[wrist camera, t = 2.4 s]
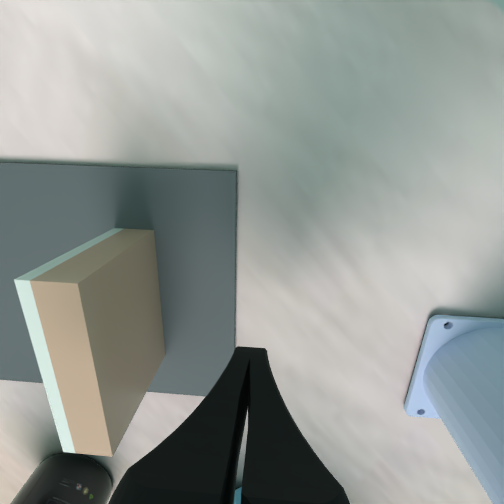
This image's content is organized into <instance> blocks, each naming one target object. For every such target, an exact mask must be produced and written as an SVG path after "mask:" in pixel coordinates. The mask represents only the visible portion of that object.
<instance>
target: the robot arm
mask: <svg viewBox="0 0 504 504" xmlns="http://www.w3.org/2000/svg"><path fill="white" fill-rule="evenodd" d="M447 322H449V323H448V324H447V325H444V324H445V323H447ZM247 409H248V434H247V444H246V454H245V463H244V472H243V481H242V489H241V504H350V503H349V500H348V498H347V495H346V493H345V491H344V489H343V487H342V486H341V485H340V484H339V482H338V481H337V480H336V479H335V478H334V477H333V475H332V474H331V473H330V472H329V471H328V469H327V468H326V467H325V466H324V464H323V463H322V462H321V460H320V459H319V458H318V457H317V455H316V454H315V453H314V451H313V450H312V448H311V447H310V445H309V444H308V442H307V441H306V439H305V438H304V436H303V435H302V433H301V432H300V430H299V429H298V427H297V425H296V424H295V422H294V420H293V418H292V417H291V415H290V413H289V411H288V409H287V407H286V405H285V403H284V401H283V399H282V397H281V395H280V392H279V390H278V388H277V385H276V382H275V380H274V377H273V374H272V371H271V368H270V365H269V361H268V356H267V350H266V349H265V348H253V347H236V348H235V350H234V353H233V355H232V357H231V359H230V361H229V363H228V365H227V366H226V368H225V370H224V371H223V373H222V374H221V376H220V378H219V379H218V381H217V382H216V384H215V385H214V386H213V388H212V389H211V390H210V392H209V393H208V395H207V396H206V397H205V398H204V400H203V401H202V402H201V403H200V405H199V406H198V407H197V408H196V409H195V410H194V411H193V413H192V414H191V415H190V416H189V417H188V418H187V419H186V420H185V421H184V422H183V423H182V424H181V425H180V426H179V427H178V428H177V429H176V430H175V431H174V432H173V433H172V434H170V435H169V436H168V437H167V438H166V439H165V440H164V441H163V442H161V443H160V444H159V445H158V446H157V447H156V448H154V449H153V450H152V451H151V452H149V453H148V454H147V455H146V456H144V457H143V458H142V459H140V460H139V461H138V462H136V463H135V464H134V465H132V466H131V467H130V468H128V470H127V471H126V473H125V474H124V476H123V478H122V479H121V481H120V483H119V484H118V486H117V488H116V490H115V491H114V493H113V495H112V497H111V499H110V501H109V504H234V496H235V485H236V475H237V467H238V460H239V454H240V448H241V443H242V437H243V431H244V426H245V420H246V415H247ZM404 410H405V412H406V414H407V415H409V416H415V417H427V418H439V419H441V420H442V422H443V423H444V425H445V426H446V428H447V430H448V431H449V433H450V435H451V436H452V438H453V439H454V441H455V443H456V444H457V446H458V448H459V449H460V451H461V453H462V454H463V456H464V457H465V459H466V461H467V462H468V464H469V466H470V467H471V469H472V470H473V472H474V474H475V475H476V477H477V479H478V480H479V482H480V484H481V485H482V487H483V488H484V490H485V492H486V493H487V495H488V497H489V498H490V500H491V501H492V503H493V504H504V319H498V318H482V317H466V316H450V315H435V316H432V317H431V318H430V319H429V321H428V324H427V328H426V331H425V335H424V338H423V342H422V345H421V349H420V352H419V356H418V359H417V363H416V366H415V370H414V373H413V377H412V380H411V384H410V387H409V391H408V394H407V398H406V401H405V405H404Z"/></svg>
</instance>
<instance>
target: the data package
mask: <svg viewBox="0 0 504 504" xmlns="http://www.w3.org/2000/svg"><path fill="white" fill-rule="evenodd" d="M241 489H242V487H240V488H238V489H236V490H235V496H234V504H241Z"/></svg>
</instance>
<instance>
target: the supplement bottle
mask: <svg viewBox="0 0 504 504" xmlns="http://www.w3.org/2000/svg"><path fill="white" fill-rule="evenodd" d="M111 490H112V484H111V479H110V476H109V474H108V473H107V471H106V470H105V469H104V468H103V467H102V466H101V465H100V464H98V463H97V462H95V461H94V460H92V459H90V458H88V457H85V456H82V455H78V454H73V453H61V454H56V455H53V456H51V457H49V458H47V459H45V460H44V461H43V462H41V463H40V465H39V466H38V467H37V468H36V470H35V471H34V472H33V474H32V475H31V476H30V478H29V479H28V480H27V482H26V483H25V484H24V486H23V487H22V488H21V490H20V491H19V493H18V494H17V495H16V497H15V498H14V499H13V501H12V502H11V504H107V502H108V499H109V497H110V494H111Z"/></svg>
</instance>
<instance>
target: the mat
mask: <svg viewBox="0 0 504 504" xmlns="http://www.w3.org/2000/svg"><path fill="white" fill-rule="evenodd" d="M236 179H237V171H226V170H199V169H172V168H145V167H118V166H90V165H63V164H36V163H9V162H0V380H12V381H24V382H36V383H43V380H42V376H41V373H40V369H39V366H38V362H37V359H36V355H35V352H34V348H33V345H32V341H31V338H30V334H29V331H28V327H27V324H26V320H25V317H24V313H23V310H22V306H21V303H20V299H19V296H18V292H17V289H16V285H15V282H14V279H16V278H18V277H20V276H22V275H24V274H26V273H28V272H30V271H32V270H34V269H36V268H38V267H40V266H41V265H43V264H45V263H47V262H49V261H51V260H53V259H55V258H57V257H59V256H61V255H63V254H65V253H67V252H69V251H71V250H73V249H75V248H77V247H78V246H80V245H82V244H84V243H86V242H88V241H90V240H92V239H94V238H96V237H98V236H100V235H102V234H104V233H106V232H108V231H110V230H112V229H114V228H122V229H142V230H154V236H155V247H156V258H157V268H158V279H159V290H160V301H161V312H162V323H163V333H164V344H165V357H164V359H163V361H162V362H161V364H160V366H159V368H158V370H157V372H156V374H155V376H154V378H153V380H152V382H151V384H150V386H149V388H148V389H147V392H159V393H171V394H183V395H195V396H207V395H208V393H209V392H210V390H211V389H212V388H213V386H214V385H215V384H216V382H217V381H218V379H219V378H220V376H221V374H222V373H223V371H224V370H225V368H226V366H227V365H228V363H229V361H230V359H231V357H232V355H233V353H234V350H235V273H236Z"/></svg>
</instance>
